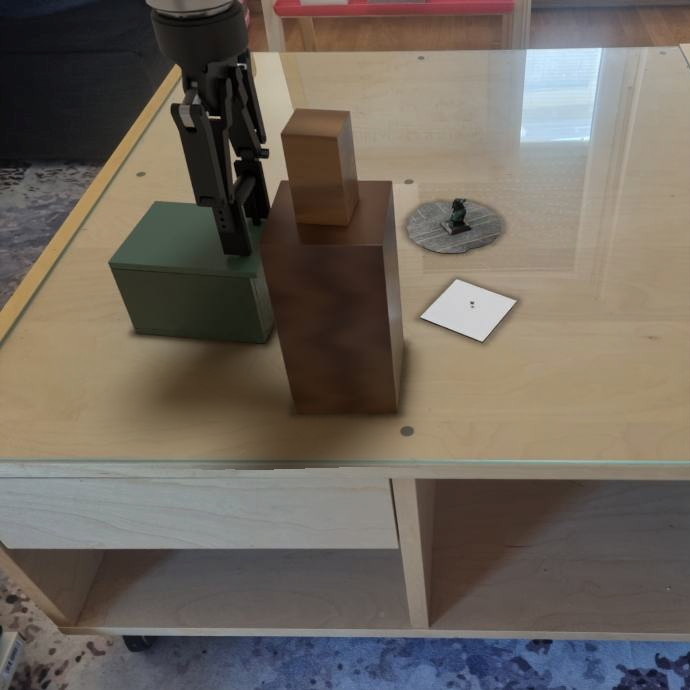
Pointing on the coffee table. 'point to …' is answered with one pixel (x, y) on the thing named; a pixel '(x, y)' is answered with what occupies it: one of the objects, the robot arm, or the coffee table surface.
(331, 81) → the coffee table surface
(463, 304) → the coaster
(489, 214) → the sculpture
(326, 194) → the block
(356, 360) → the plinth
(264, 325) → the green box
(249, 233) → the box lid
